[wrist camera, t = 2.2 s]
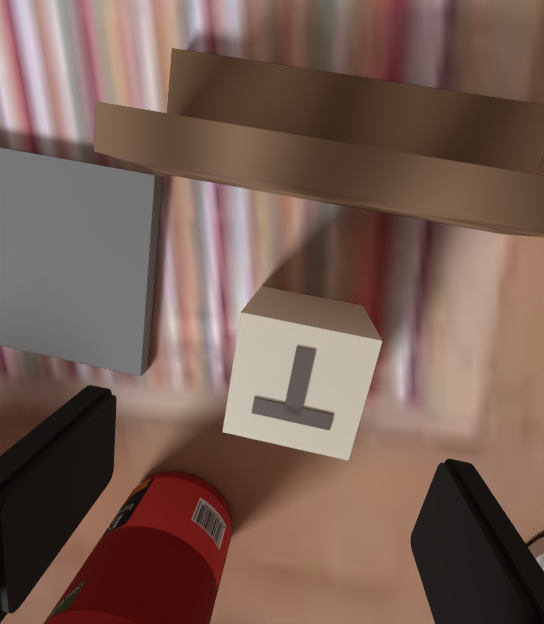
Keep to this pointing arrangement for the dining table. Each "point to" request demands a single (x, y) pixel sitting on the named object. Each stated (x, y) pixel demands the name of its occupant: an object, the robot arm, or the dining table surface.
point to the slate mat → (77, 260)
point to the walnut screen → (340, 141)
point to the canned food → (154, 558)
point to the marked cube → (301, 371)
